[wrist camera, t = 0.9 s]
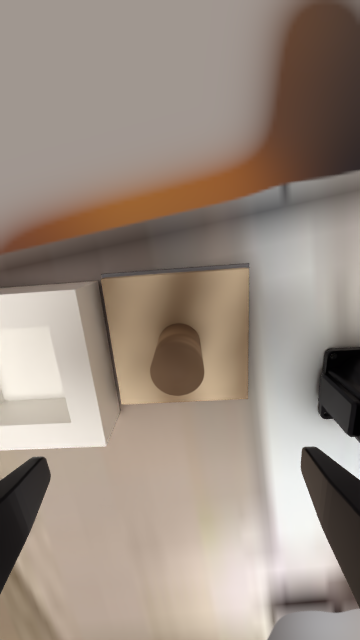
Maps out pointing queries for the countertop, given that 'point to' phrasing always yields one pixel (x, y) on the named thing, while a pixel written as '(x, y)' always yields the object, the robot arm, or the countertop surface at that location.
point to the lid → (179, 335)
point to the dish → (55, 368)
